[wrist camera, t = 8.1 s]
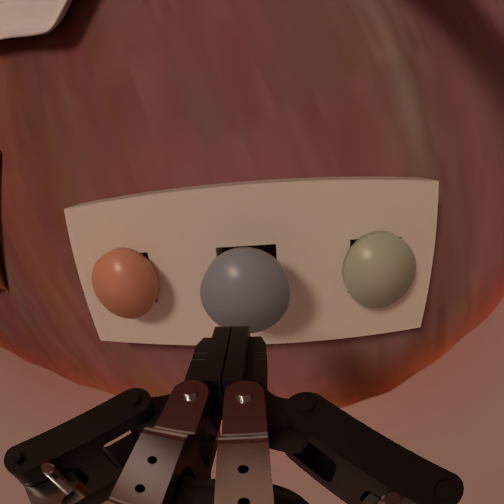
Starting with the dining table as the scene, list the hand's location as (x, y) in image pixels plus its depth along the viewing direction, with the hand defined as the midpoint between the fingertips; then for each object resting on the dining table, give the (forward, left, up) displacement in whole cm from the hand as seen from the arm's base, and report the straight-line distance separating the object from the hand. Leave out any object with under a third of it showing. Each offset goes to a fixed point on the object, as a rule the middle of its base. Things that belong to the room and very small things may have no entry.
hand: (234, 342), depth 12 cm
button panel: (0, 0, -10) cm, 10 cm away
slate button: (0, 0, -8) cm, 8 cm away
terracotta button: (+6, -6, -10) cm, 13 cm away
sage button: (-7, +6, -10) cm, 14 cm away
